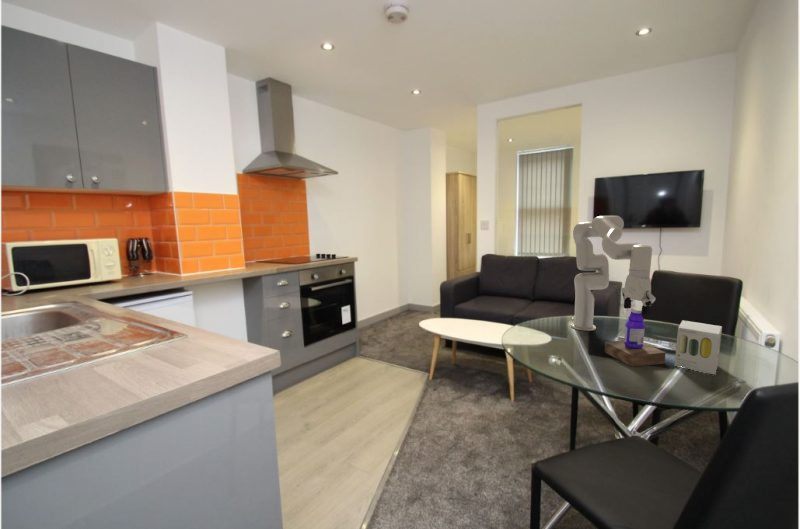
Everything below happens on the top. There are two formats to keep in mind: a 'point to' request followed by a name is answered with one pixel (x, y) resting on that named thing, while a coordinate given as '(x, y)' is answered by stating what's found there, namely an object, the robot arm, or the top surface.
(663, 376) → the top surface
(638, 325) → the bottle
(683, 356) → the supplement box
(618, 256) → the robot arm
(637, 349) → the plinth
